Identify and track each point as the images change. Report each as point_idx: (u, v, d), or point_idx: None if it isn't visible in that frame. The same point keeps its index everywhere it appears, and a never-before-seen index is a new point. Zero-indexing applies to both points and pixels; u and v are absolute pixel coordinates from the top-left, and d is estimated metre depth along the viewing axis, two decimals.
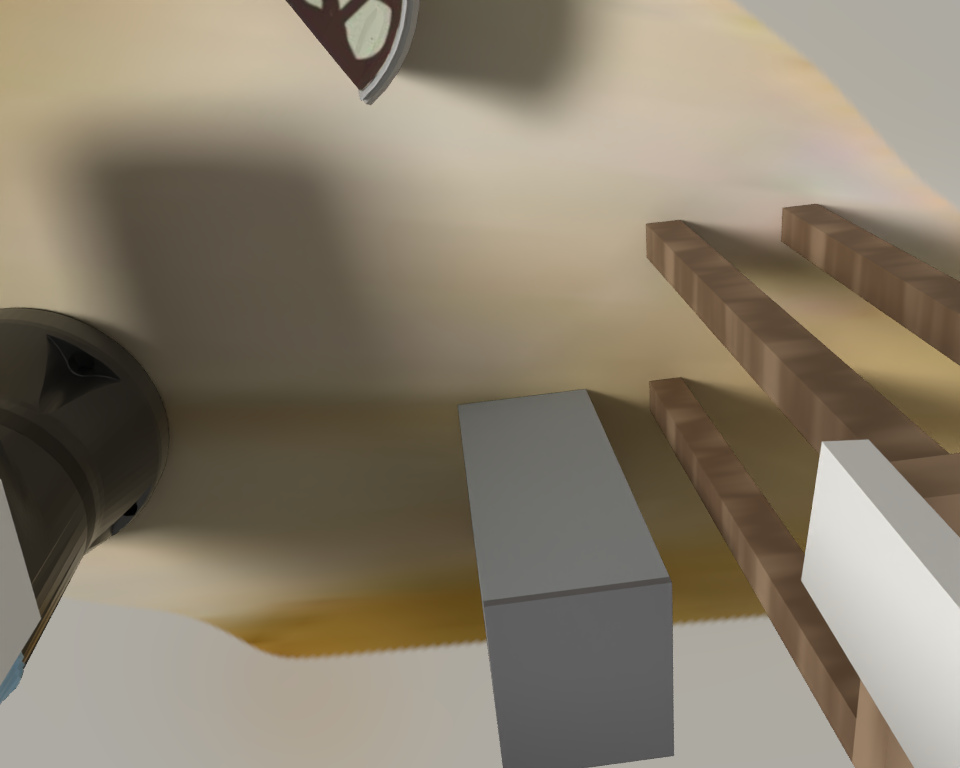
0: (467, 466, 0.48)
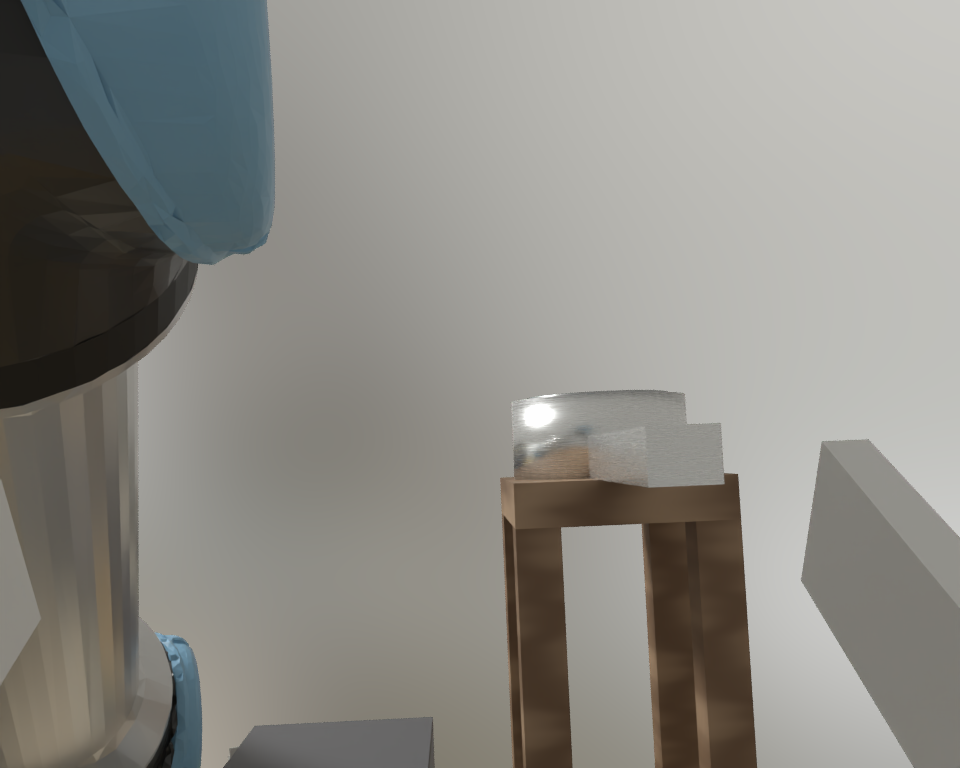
0: None
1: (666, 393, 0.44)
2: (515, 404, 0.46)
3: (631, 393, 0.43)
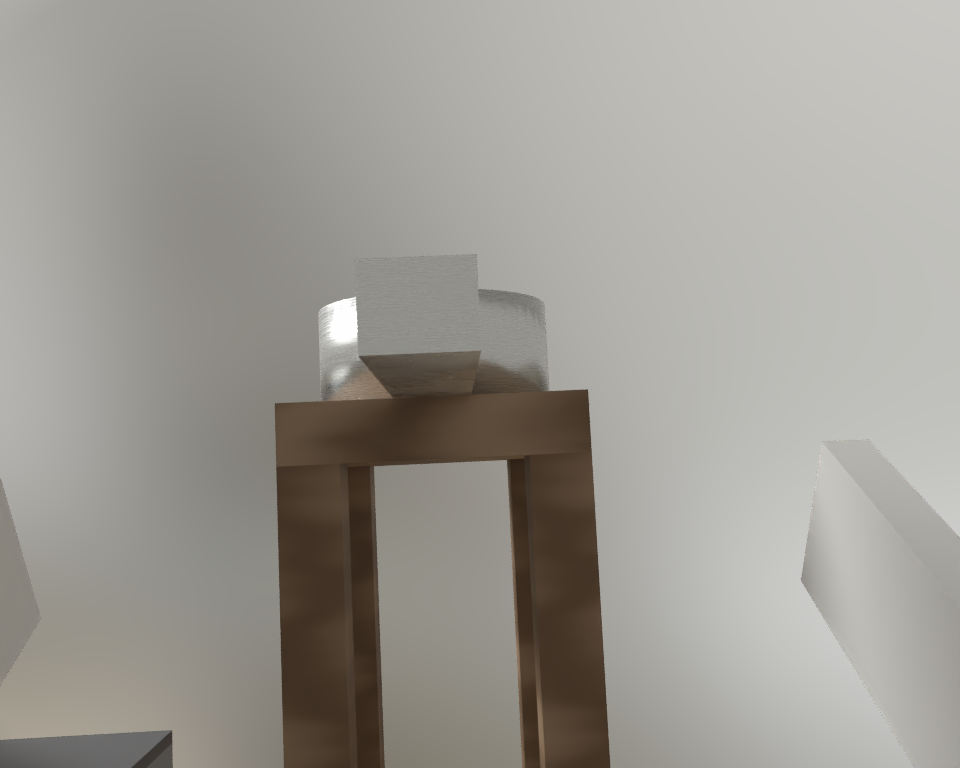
0: None
1: (508, 293, 0.33)
2: (319, 315, 0.35)
3: None
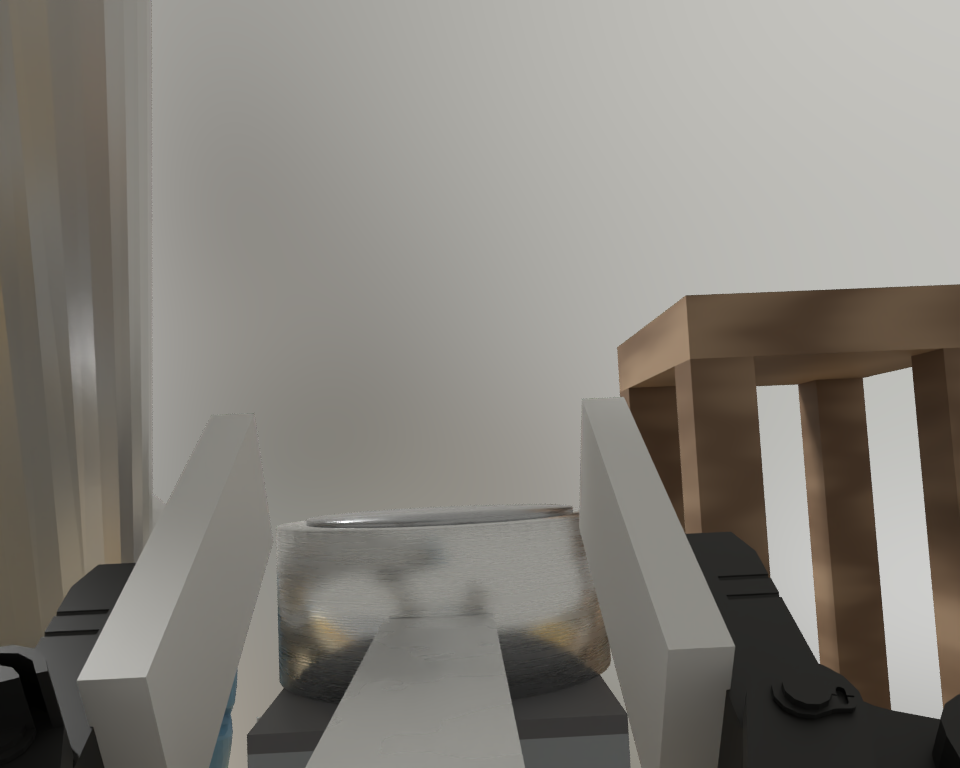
0: None
1: (554, 522, 0.22)
2: (276, 534, 0.24)
3: (477, 528, 0.21)
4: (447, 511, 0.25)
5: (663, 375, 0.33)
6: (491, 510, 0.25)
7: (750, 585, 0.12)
